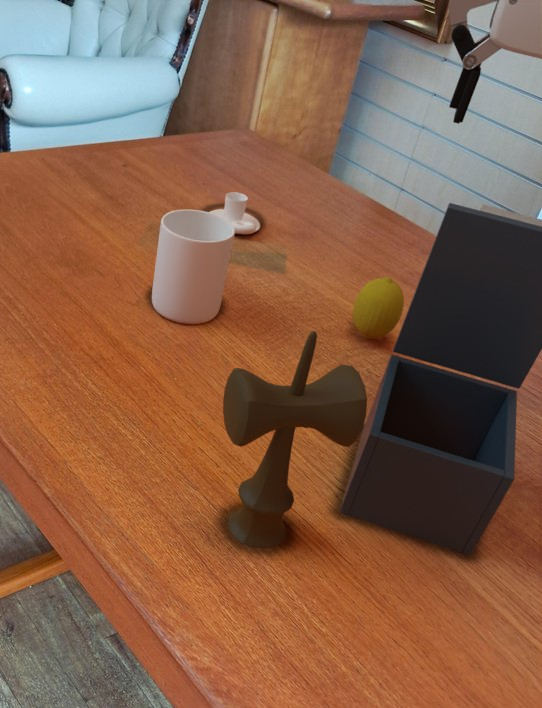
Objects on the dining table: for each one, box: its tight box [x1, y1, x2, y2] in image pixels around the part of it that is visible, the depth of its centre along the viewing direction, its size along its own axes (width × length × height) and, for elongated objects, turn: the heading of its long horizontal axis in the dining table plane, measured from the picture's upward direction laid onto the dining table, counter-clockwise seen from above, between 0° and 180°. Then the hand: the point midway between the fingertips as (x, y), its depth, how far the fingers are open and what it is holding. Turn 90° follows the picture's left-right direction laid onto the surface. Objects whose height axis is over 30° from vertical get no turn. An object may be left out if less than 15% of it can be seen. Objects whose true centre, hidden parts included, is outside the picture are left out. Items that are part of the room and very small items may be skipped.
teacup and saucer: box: [209, 191, 261, 235], centre depth 112 cm, size 9×8×4 cm
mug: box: [151, 208, 235, 325], centre depth 92 cm, size 12×8×10 cm
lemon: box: [352, 276, 405, 340], centre depth 92 cm, size 6×6×8 cm
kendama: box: [222, 330, 368, 549], centre depth 61 cm, size 6×10×20 cm, turn 101°
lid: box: [392, 202, 542, 389], centre depth 68 cm, size 14×12×5 cm
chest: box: [339, 353, 518, 557], centre depth 71 cm, size 14×12×10 cm
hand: (514, 133), depth 67 cm, fingers open, 9 cm apart
